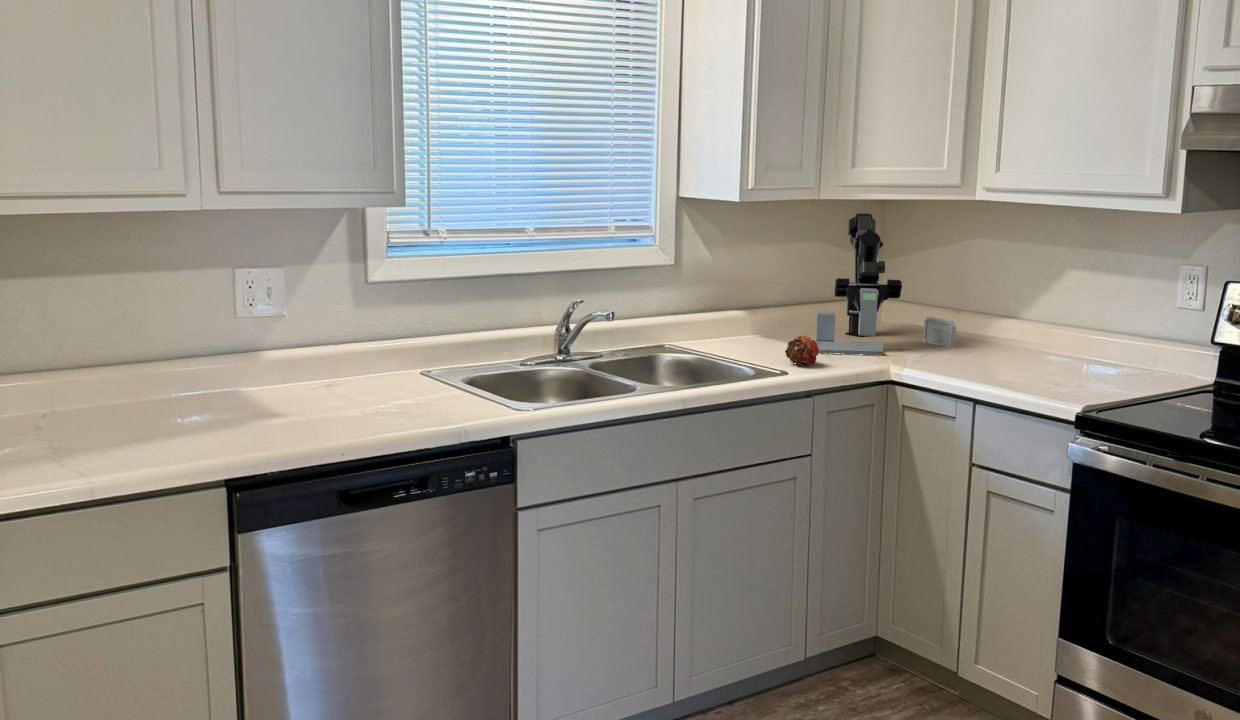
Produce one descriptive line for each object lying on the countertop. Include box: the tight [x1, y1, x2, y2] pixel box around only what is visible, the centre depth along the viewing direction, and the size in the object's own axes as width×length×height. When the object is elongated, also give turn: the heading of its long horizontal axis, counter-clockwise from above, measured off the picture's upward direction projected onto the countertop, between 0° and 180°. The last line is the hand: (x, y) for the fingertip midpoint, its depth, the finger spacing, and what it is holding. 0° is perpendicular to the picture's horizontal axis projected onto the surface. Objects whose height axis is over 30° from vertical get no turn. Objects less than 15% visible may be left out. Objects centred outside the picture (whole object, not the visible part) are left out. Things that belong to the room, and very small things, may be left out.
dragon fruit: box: [784, 335, 819, 366], centre depth 294 cm, size 8×8×12 cm
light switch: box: [922, 316, 957, 349], centre depth 327 cm, size 2×12×8 cm, turn 25°
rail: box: [815, 311, 884, 356], centre depth 312 cm, size 18×7×11 cm, turn 82°
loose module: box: [858, 288, 878, 337], centre depth 315 cm, size 5×4×13 cm
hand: (868, 311), depth 314 cm, fingers closed on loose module, 4 cm apart
